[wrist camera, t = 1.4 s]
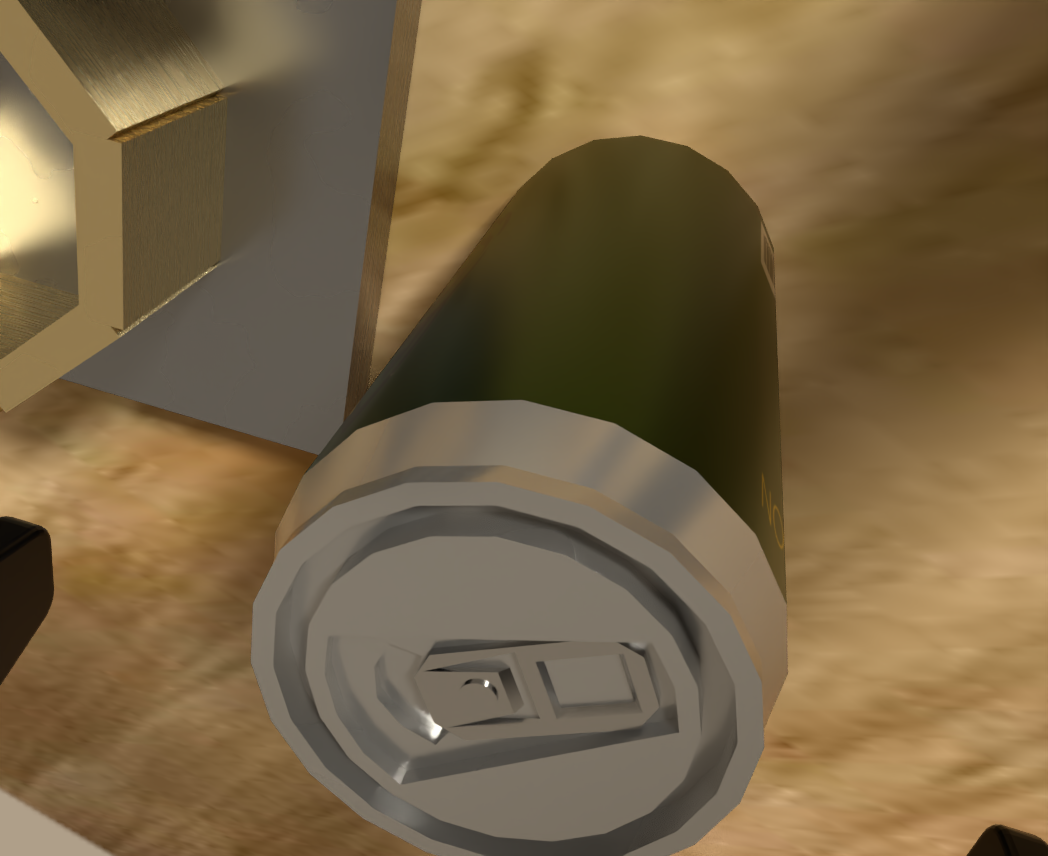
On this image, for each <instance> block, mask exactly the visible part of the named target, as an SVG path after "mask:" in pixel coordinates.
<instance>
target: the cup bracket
mask: <svg viewBox="0 0 1048 856" xmlns="http://www.w3.org/2000/svg"><path fill="white" fill-rule="evenodd" d="M421 1H422V0H0V412H1V411H2V410H4V411H5V413H7V412H8V411H10V410H11V409H13V408H14V407H16V406H17V405H19V404H20V403H22V402H23V401H25V400H26V399H28V398H30V397H31V396H33V395H34V394H36V393H37V392H39V391H40V390H42V389H43V388H45V387H46V386H48V385H49V384H51V383H52V382H54V381H55V380H57V379H58V378H60V379H64V380H67V381H70V382H74V383H77V384H81V385H84V386H87V387H91V388H94V389H97V390H101V391H104V392H108V393H111V394H114V395H118V396H121V397H124V398H128V399H131V400H135V401H138V402H141V403H145V404H148V405H151V406H155V407H158V408H162V409H165V410H168V411H172V412H175V413H178V414H182V415H185V416H189V417H192V418H195V419H199V420H202V421H206V422H209V423H212V424H216V425H219V426H222V427H226V428H229V429H233V430H236V431H239V432H243V433H246V434H249V435H253V436H256V437H260V438H263V439H266V440H270V441H273V442H276V443H280V444H283V445H287V446H290V447H293V448H297V449H300V450H303V451H307V452H310V453H314V454H317V455H319V454H320V453H321V451H322V450H323V449H324V447H325V446H326V445H327V443H328V442H329V441H330V440H331V438H332V437H333V436H334V434H335V433H336V432H337V430H338V429H339V428H340V426H341V425H342V424H343V422H344V421H345V420H346V418H347V417H348V416H349V414H350V413H351V412H352V410H353V409H354V408H355V406H356V405H357V404H358V402H359V401H360V400H361V398H362V397H363V396H364V394H365V393H366V392H367V388H368V381H369V374H370V367H371V359H372V352H373V345H374V338H375V331H376V324H377V316H378V309H379V302H380V295H381V288H382V281H383V273H384V266H385V259H386V252H387V245H388V238H389V230H390V223H391V216H392V209H393V202H394V195H395V187H396V180H397V173H398V166H399V159H400V152H401V144H402V137H403V130H404V123H405V116H406V109H407V101H408V94H409V87H410V80H411V73H412V66H413V58H414V51H415V44H416V37H417V30H418V23H419V16H420V8H421Z"/></svg>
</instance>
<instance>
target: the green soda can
mask: <svg viewBox="0 0 1048 856" xmlns="http://www.w3.org/2000/svg"><path fill="white" fill-rule="evenodd" d="M251 664H252V667H253V670H254V673H255V676H256V679H257V682H258V685H259V688H260V690H261V693H262V696H263V699H264V702H265V705H266V708H267V711H268V714H269V716H270V719H271V721H272V723H273V724H274V725H275V727H276V728H277V730H278V731H279V732H280V734H281V735H282V736H283V738H284V739H285V741H286V742H287V743H288V745H289V746H290V747H291V749H292V750H293V752H294V753H295V754H296V756H297V757H298V758H299V760H300V761H301V763H302V764H303V765H304V767H305V768H306V769H307V771H308V772H309V774H311V775H312V776H313V777H314V778H315V779H317V780H318V781H319V782H320V783H321V784H322V785H324V786H325V787H326V788H327V789H328V790H330V791H331V792H332V793H333V794H334V795H336V796H337V797H338V798H339V799H340V800H342V801H343V802H344V803H345V804H346V805H347V806H349V807H350V808H351V809H352V810H353V811H355V812H356V813H357V814H358V815H359V816H361V817H362V818H363V819H365V820H367V821H369V822H371V823H372V824H374V825H376V826H378V827H380V828H382V829H384V830H386V831H387V832H389V833H391V834H393V835H395V836H397V837H399V838H401V839H402V840H404V841H406V842H408V843H410V844H412V845H414V846H416V847H417V848H419V849H421V850H423V851H425V852H428V853H431V854H434V855H438V856H669V855H672V854H674V853H676V852H679V851H681V850H683V849H686V848H688V847H690V846H693V845H695V844H696V843H697V842H698V841H699V840H700V839H701V838H702V837H704V836H705V835H706V834H707V833H708V832H709V831H710V830H711V829H712V828H713V827H714V826H716V825H717V824H718V823H719V822H720V821H721V820H722V819H723V818H724V817H725V816H726V815H728V814H729V813H730V812H731V811H732V810H733V809H734V808H735V807H736V806H737V805H738V804H740V802H741V799H742V797H743V795H744V793H745V790H746V788H747V786H748V783H749V781H750V779H751V777H752V774H753V772H754V770H755V767H756V765H757V763H758V761H759V758H760V756H761V754H762V751H763V749H764V728H765V725H766V723H767V721H768V718H769V716H770V714H771V711H772V709H773V707H774V704H775V702H776V700H777V697H778V695H779V693H780V691H781V688H782V686H783V684H784V681H785V679H786V677H787V674H788V652H787V600H786V573H785V546H784V519H783V491H782V464H781V437H780V410H779V382H778V355H777V328H776V301H775V273H774V248H773V245H772V243H771V240H770V237H769V235H768V232H767V230H766V227H765V224H764V222H763V219H762V216H761V214H760V211H759V208H758V206H757V205H756V204H755V202H754V201H753V200H752V199H751V198H750V196H749V195H748V194H747V193H746V192H745V191H744V189H743V188H742V187H741V186H740V185H739V183H738V182H737V181H736V180H735V179H734V177H733V176H732V175H731V174H730V173H729V171H727V170H726V169H724V168H723V167H721V166H719V165H718V164H716V163H714V162H713V161H711V160H709V159H708V158H706V157H704V156H703V155H701V154H699V153H698V152H696V151H695V150H693V149H691V148H690V147H688V146H684V145H680V144H676V143H671V142H667V141H663V140H658V139H654V138H649V137H645V136H631V137H621V138H610V139H600V140H593V141H591V142H588V143H586V144H584V145H582V146H579V147H577V148H575V149H573V150H570V151H568V152H566V153H564V154H561V155H559V156H557V157H555V158H552V159H551V160H550V161H549V162H548V163H547V164H546V165H545V166H544V167H543V168H541V169H540V170H539V171H538V172H537V173H536V174H535V175H534V176H533V177H532V178H531V179H530V180H528V181H527V182H526V183H525V184H524V185H523V186H522V187H521V188H520V189H519V190H518V192H517V193H516V194H515V196H514V197H513V198H512V200H511V201H510V202H509V204H508V205H507V206H506V208H505V209H504V210H503V211H502V213H501V214H500V215H499V217H498V218H497V219H496V221H495V222H494V223H493V225H492V226H491V227H490V229H489V230H488V231H487V233H486V234H485V235H484V237H483V238H482V239H481V241H480V242H479V243H478V245H477V246H476V247H475V249H474V250H473V251H472V253H471V254H470V255H469V257H468V258H467V259H466V261H465V262H464V263H463V265H462V266H461V267H460V268H459V270H458V271H457V272H456V274H455V275H454V276H453V278H452V279H451V280H450V282H449V283H448V284H447V286H446V287H445V288H444V290H443V291H442V292H441V294H440V295H439V296H438V298H437V299H436V300H435V302H434V303H433V304H432V306H431V307H430V308H429V310H428V311H427V312H426V314H425V315H424V316H423V318H422V319H421V320H420V322H419V323H418V324H417V325H416V327H415V328H414V329H413V331H412V332H411V333H410V335H409V336H408V337H407V339H406V340H405V341H404V343H403V344H402V345H401V347H400V348H399V349H398V351H397V352H396V353H395V355H394V356H393V357H392V359H391V360H390V361H389V363H388V364H387V365H386V367H385V368H384V369H383V371H382V372H381V373H380V375H379V376H378V377H377V379H376V380H375V381H374V382H373V384H372V385H371V386H370V388H369V389H368V390H367V392H366V393H365V394H364V396H363V397H362V398H361V400H360V401H359V402H358V404H357V405H356V406H355V408H354V409H353V410H352V412H351V413H350V414H349V416H348V417H347V418H346V420H345V421H344V422H343V424H342V425H341V426H340V428H339V429H338V430H337V432H336V433H335V434H334V436H333V437H332V438H331V440H330V441H329V442H328V443H327V445H326V446H325V447H324V449H323V450H322V451H321V453H320V454H319V455H318V457H317V458H316V459H315V461H314V462H313V463H312V465H311V466H310V467H309V469H308V470H307V471H306V473H305V474H304V475H303V477H302V479H301V481H300V483H299V485H298V487H297V489H296V492H295V494H294V496H293V498H292V500H291V502H290V504H289V506H288V508H287V510H286V512H285V514H284V516H283V518H282V520H281V522H280V524H279V526H278V528H277V530H276V532H275V548H274V563H273V565H272V567H271V569H270V571H269V573H268V575H267V577H266V579H265V581H264V583H263V585H262V587H261V589H260V591H259V593H258V595H257V597H256V599H255V601H254V603H253V617H252V644H251Z"/></svg>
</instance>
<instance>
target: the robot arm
mask: <svg viewBox="0 0 1048 856" xmlns="http://www.w3.org/2000/svg"><path fill="white" fill-rule="evenodd" d="M53 595H54V582H53V566H52V549H51V538H50V535H49V533H48V531H47V530H46V529H45V528H43V527H42V526H39V525H36V524H33V523H30V522H27V521H23V520H20V519H17V518H14V517H7V516H5V517H0V685H1V684H2V682H3V681H4V679H5V678H6V676H7V675H8V673H9V672H10V670H11V669H12V667H13V666H14V664H15V663H16V661H17V659H18V658H19V656H20V655H21V653H22V652H23V650H24V649H25V647H26V646H27V644H28V643H29V641H30V640H31V638H32V637H33V635H34V634H35V632H36V631H37V629H38V628H39V626H40V625H41V623H42V622H43V620H44V618H45V617H46V615H47V613H48V611H49V609H50V607H51V603H52V600H53ZM967 856H1048V845H1047V843H1046V842H1045V841H1043V840H1042V839H1041V838H1039V837H1037V836H1035V835H1033V834H1029V833H1026V832H1023V831H1020V830H1017V829H1013V828H1010V827H1007V826H1004V825H996V824H995V825H992V826H990V827H988V828H987V829H986V830H985V831H984V832H983V833H982V835H981V836H980V838H979V839H978V840H977V842H976V843H975V845H974V846H973V847H972V849H971V850H970V851H969V853H968V854H967Z"/></svg>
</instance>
